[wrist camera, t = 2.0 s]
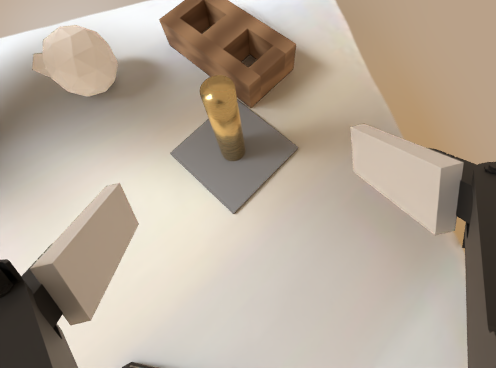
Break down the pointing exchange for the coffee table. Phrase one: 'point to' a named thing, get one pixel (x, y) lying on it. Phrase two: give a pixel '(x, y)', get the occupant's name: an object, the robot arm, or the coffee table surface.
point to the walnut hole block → (230, 45)
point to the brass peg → (224, 115)
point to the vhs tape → (137, 366)
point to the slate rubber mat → (235, 172)
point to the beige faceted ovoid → (77, 60)
